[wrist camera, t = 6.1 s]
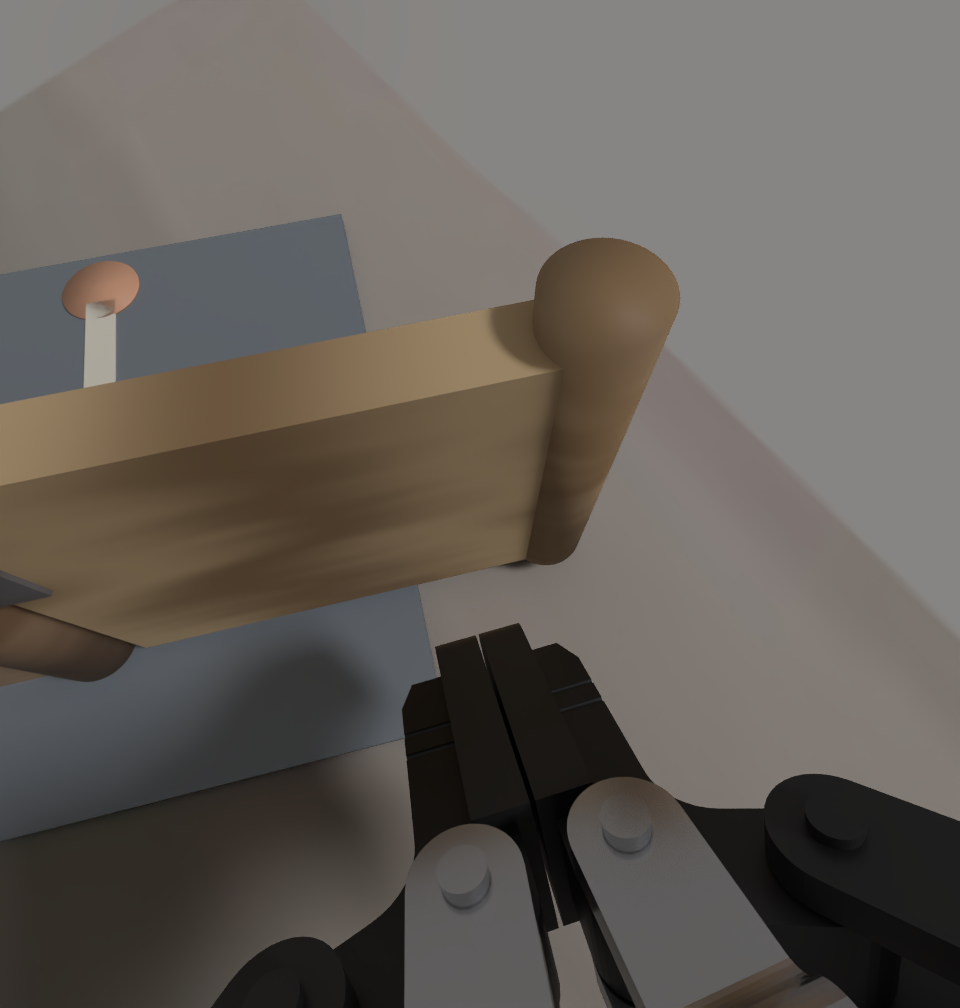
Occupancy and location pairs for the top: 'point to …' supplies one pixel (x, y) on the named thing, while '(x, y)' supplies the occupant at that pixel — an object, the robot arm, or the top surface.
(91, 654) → the fence fixed
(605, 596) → the top surface
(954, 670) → the top surface
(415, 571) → the fence gate
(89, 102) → the top surface
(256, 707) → the board
